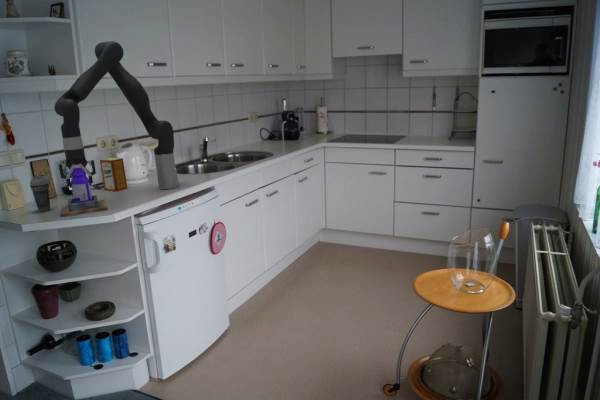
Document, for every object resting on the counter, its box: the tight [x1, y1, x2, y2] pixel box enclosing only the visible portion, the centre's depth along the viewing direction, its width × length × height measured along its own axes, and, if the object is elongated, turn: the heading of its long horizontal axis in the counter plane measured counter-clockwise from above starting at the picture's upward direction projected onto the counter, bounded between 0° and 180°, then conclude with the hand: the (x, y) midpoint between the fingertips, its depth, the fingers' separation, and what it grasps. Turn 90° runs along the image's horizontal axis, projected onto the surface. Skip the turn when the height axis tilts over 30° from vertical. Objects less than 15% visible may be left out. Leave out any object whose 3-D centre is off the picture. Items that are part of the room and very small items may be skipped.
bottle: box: [70, 164, 93, 203], centre depth 204 cm, size 7×6×17 cm
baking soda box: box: [99, 157, 128, 192], centre depth 242 cm, size 10×6×16 cm
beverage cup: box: [29, 165, 51, 213], centre depth 206 cm, size 7×7×20 cm
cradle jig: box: [59, 194, 108, 218], centre depth 206 cm, size 18×16×4 cm
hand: (80, 185), depth 204 cm, fingers closed on bottle, 7 cm apart
